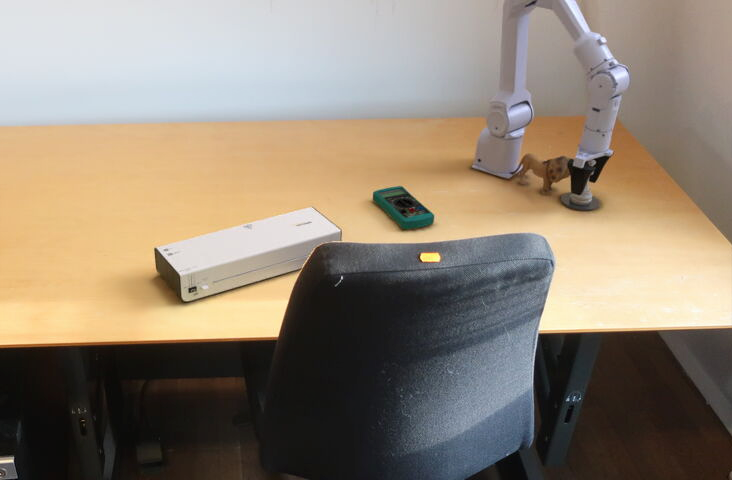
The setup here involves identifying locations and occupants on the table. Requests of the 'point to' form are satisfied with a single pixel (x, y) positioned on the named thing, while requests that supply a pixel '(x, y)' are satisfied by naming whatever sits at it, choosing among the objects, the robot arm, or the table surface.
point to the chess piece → (584, 192)
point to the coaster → (567, 202)
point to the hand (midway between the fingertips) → (583, 187)
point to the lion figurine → (544, 169)
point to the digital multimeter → (403, 207)
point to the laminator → (243, 253)
